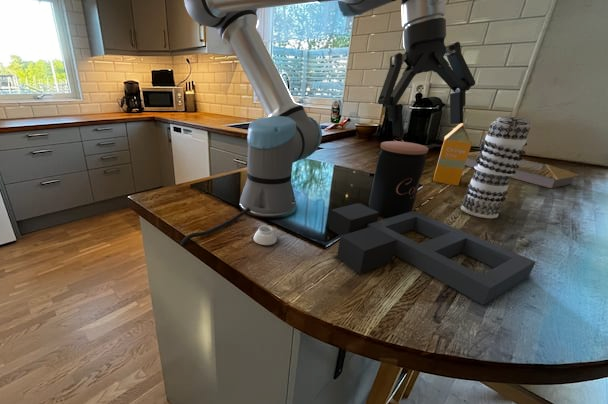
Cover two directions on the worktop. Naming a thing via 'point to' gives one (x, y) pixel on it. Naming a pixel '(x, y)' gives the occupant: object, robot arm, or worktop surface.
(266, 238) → the white upturned bowl
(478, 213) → the decorative candle
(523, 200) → the worktop surface
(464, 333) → the worktop surface
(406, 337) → the worktop surface
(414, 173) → the coffee jar
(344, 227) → the pad
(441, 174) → the orange juice
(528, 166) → the rafter model
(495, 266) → the base pad
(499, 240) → the worktop surface
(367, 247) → the pad
